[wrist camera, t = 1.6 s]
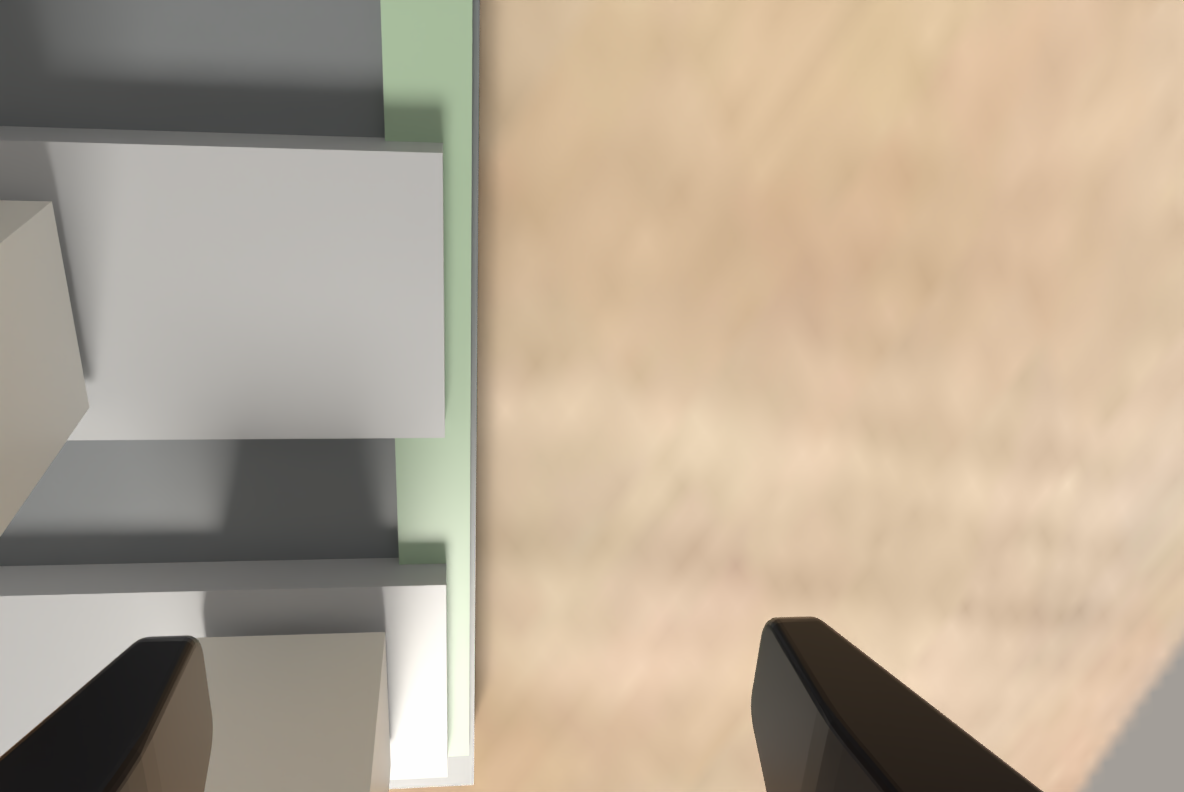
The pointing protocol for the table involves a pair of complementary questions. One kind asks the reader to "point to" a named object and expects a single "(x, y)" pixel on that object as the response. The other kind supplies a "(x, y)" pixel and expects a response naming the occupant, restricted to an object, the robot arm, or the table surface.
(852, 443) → the table surface
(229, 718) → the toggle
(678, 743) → the table surface
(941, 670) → the table surface
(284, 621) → the panel
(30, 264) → the toggle mid
